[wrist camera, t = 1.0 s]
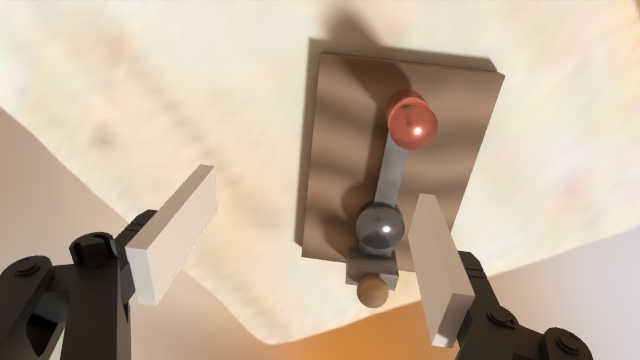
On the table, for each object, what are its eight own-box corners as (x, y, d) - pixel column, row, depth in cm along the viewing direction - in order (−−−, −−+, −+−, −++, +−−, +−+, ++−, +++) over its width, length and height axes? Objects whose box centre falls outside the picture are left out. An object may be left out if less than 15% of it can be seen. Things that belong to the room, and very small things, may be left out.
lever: (379, 82, 34) (384, 101, 28) (436, 89, 34) (453, 109, 28) (351, 241, 44) (350, 279, 38) (395, 247, 43) (401, 286, 38)
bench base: (321, 51, 35) (310, 69, 27) (499, 72, 34) (545, 96, 26) (302, 249, 47) (291, 303, 39) (433, 267, 47) (450, 326, 38)
